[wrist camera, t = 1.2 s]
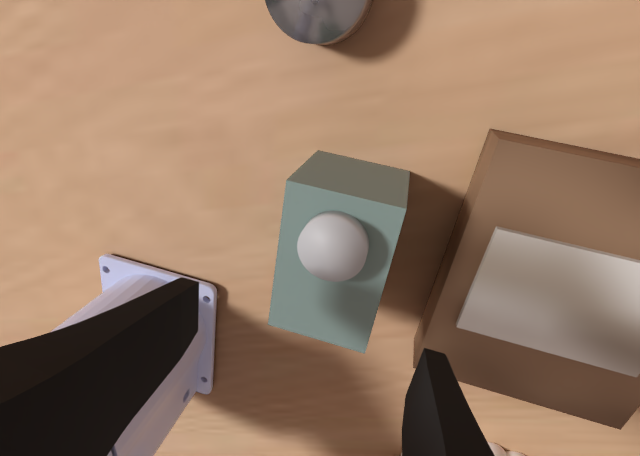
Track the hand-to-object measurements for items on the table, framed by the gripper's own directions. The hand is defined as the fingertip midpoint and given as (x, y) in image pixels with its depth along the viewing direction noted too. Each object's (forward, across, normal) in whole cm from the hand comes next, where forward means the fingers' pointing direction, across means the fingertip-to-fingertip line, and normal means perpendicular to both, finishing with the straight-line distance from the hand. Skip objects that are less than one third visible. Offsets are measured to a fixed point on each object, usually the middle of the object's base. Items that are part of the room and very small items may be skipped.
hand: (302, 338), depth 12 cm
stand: (+9, -10, 0) cm, 13 cm away
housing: (+9, 0, 0) cm, 9 cm away
